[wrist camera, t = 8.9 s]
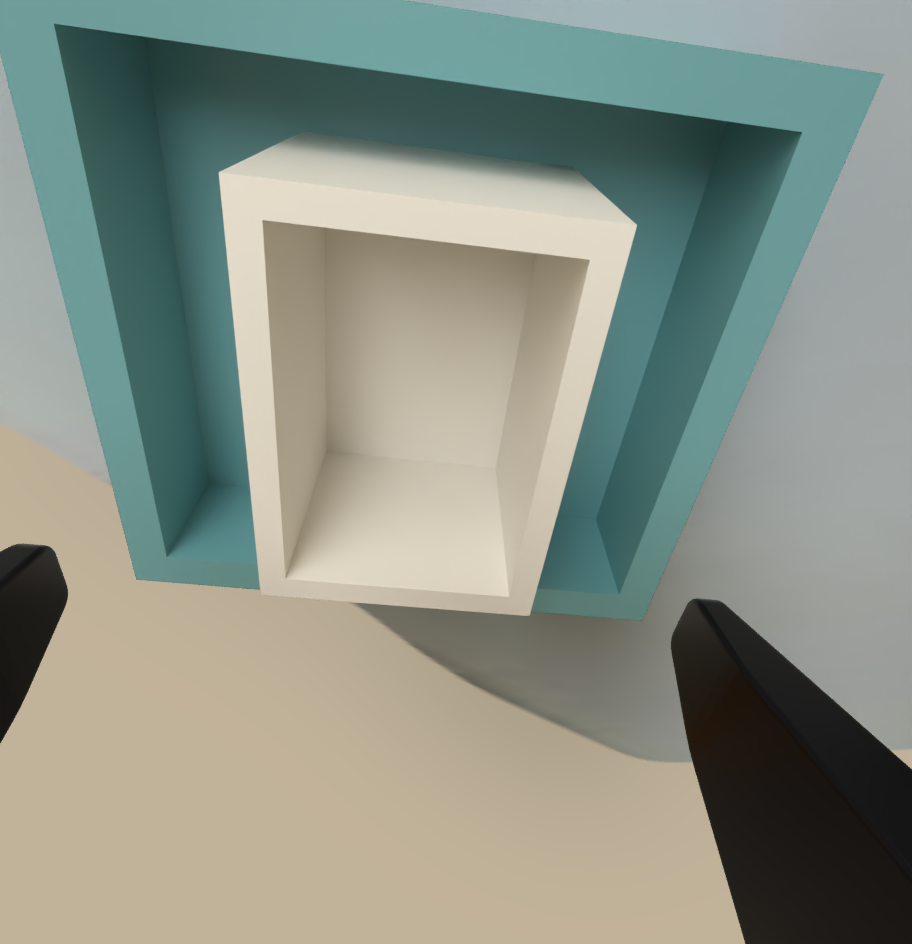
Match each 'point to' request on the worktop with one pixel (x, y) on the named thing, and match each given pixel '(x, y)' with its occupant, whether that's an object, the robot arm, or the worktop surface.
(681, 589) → the worktop surface
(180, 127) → the big crate
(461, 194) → the small crate
